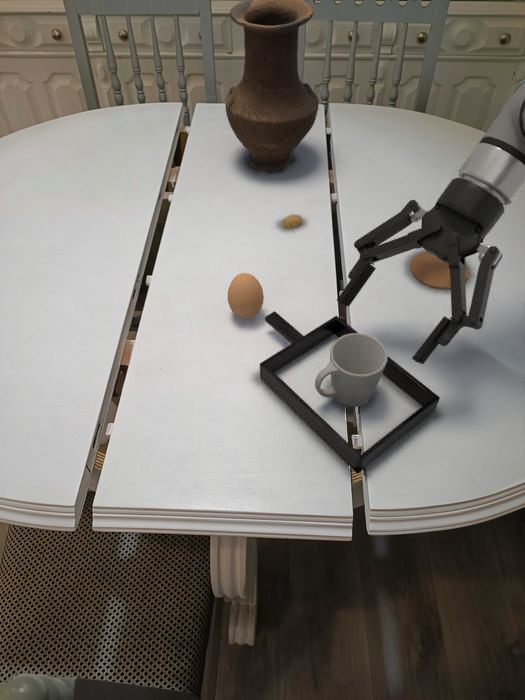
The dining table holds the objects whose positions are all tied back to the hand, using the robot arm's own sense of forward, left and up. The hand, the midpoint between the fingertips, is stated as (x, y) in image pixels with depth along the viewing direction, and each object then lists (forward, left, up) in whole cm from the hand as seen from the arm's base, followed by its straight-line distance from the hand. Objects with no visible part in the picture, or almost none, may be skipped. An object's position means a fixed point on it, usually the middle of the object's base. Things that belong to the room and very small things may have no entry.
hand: (378, 331), depth 71 cm
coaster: (+9, -27, -10) cm, 30 cm away
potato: (+36, -16, -10) cm, 41 cm away
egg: (+22, +6, -10) cm, 25 cm away
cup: (0, +5, -10) cm, 11 cm away
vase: (+57, -28, -10) cm, 64 cm away
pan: (+3, +5, -10) cm, 12 cm away
